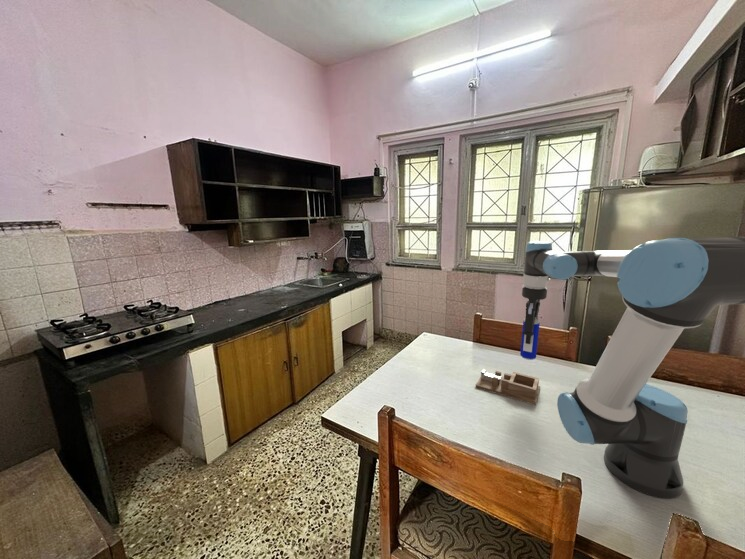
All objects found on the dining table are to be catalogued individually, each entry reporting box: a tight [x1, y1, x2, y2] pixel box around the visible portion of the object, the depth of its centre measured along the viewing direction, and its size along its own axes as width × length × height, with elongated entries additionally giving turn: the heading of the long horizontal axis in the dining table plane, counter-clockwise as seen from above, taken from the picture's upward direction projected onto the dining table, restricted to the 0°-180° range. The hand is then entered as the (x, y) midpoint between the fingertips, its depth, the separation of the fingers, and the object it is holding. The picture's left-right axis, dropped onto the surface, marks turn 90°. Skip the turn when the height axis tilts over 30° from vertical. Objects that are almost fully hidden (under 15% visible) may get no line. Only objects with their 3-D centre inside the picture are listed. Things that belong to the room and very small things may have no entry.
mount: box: [475, 370, 541, 406], centre depth 115 cm, size 12×21×5 cm, turn 55°
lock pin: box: [480, 368, 502, 384], centre depth 118 cm, size 3×7×3 cm, turn 55°
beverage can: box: [520, 316, 541, 361], centre depth 107 cm, size 5×5×15 cm
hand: (528, 347), depth 108 cm, fingers closed on beverage can, 5 cm apart
